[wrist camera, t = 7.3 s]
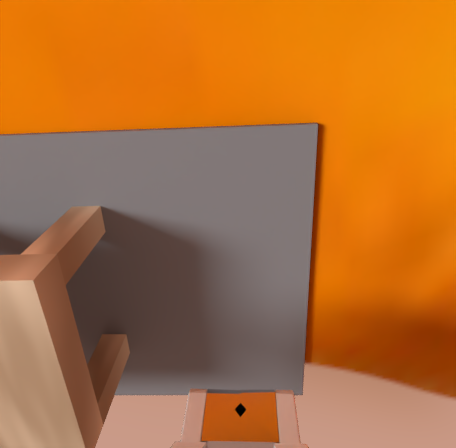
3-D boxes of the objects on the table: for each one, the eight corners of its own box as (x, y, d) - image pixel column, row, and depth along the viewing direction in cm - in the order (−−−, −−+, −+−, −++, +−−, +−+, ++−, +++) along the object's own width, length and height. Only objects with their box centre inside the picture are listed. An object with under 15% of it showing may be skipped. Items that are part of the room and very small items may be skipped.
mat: (316, 122, 14) (318, 124, 14) (301, 390, 20) (302, 395, 20) (-186, 141, 15) (-194, 143, 15) (-59, 390, 21) (-63, 395, 21)
